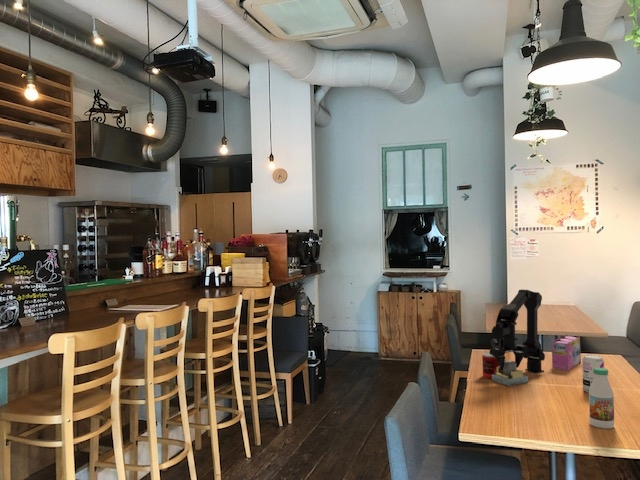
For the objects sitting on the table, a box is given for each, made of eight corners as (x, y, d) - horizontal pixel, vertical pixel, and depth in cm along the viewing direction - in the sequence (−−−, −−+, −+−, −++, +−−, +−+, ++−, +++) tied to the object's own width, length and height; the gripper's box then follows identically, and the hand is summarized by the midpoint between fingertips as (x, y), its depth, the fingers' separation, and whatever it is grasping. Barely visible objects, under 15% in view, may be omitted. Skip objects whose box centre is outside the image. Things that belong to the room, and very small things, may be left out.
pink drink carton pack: (566, 359, 273) (565, 334, 273) (582, 361, 268) (581, 336, 268) (551, 368, 255) (551, 341, 256) (568, 370, 250) (567, 343, 250)
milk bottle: (584, 422, 180) (583, 366, 180) (605, 420, 181) (603, 365, 181) (598, 430, 173) (597, 372, 173) (619, 428, 173) (618, 371, 173)
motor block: (514, 376, 241) (514, 364, 241) (530, 381, 232) (530, 369, 232) (492, 380, 235) (491, 367, 235) (507, 385, 226) (507, 372, 226)
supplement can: (606, 391, 215) (606, 356, 215) (601, 395, 209) (600, 360, 209) (586, 387, 221) (585, 353, 221) (580, 392, 215) (579, 357, 215)
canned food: (497, 374, 245) (496, 352, 245) (501, 379, 237) (500, 356, 237) (481, 374, 246) (480, 352, 246) (484, 379, 238) (484, 356, 238)
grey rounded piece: (509, 372, 237) (509, 359, 237) (519, 375, 231) (519, 362, 231) (500, 374, 234) (499, 360, 234) (509, 377, 229) (509, 363, 229)
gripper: (511, 330, 244) (511, 362, 244) (480, 334, 237) (481, 367, 237) (528, 334, 234) (529, 367, 234) (498, 338, 226) (498, 372, 226)
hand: (509, 368), depth 233 cm, fingers open, 9 cm apart
